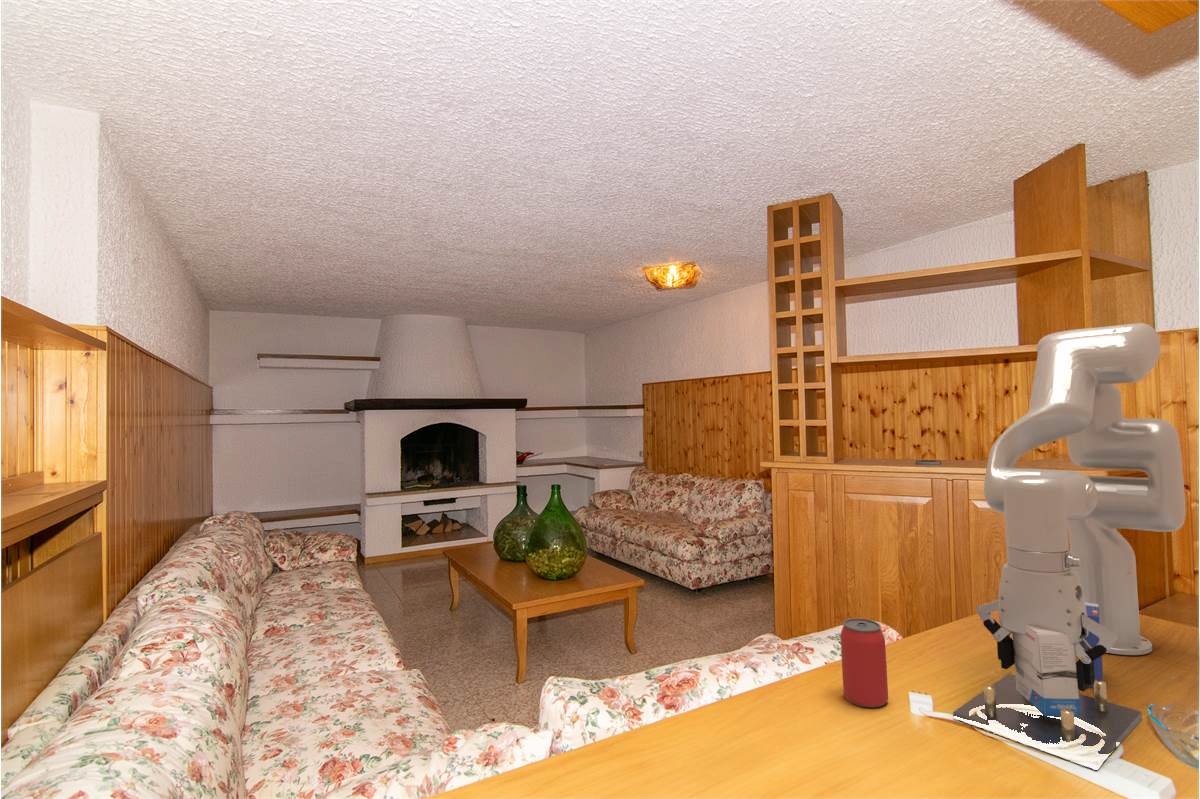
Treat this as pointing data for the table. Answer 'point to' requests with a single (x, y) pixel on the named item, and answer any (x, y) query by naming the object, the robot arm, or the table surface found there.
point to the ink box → (1046, 670)
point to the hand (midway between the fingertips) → (1044, 676)
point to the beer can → (864, 663)
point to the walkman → (1094, 639)
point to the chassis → (1044, 728)
